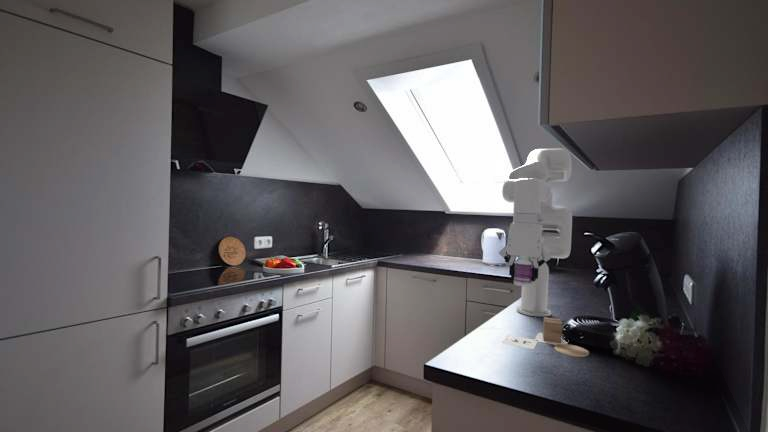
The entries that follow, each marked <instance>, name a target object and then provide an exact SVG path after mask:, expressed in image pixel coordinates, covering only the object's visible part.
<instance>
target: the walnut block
mask: <svg viewBox="0 0 768 432" xmlns="http://www.w3.org/2000/svg"><path fill="white" fill-rule="evenodd" d="M542 328H543V329H542V333H543V340H544V341H549V342H556V343H561V340H562V337H563V336H562V335H563V321H562V319H561V318H553V317H548V316H546V317H543V327H542Z"/></svg>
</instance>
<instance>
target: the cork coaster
mask: <svg viewBox="0 0 768 432" xmlns="http://www.w3.org/2000/svg"><path fill="white" fill-rule="evenodd" d="M553 348H554V350H555V351H556V352H557V353H560V354H562V355H565V356H569V357H575V358H585V357H588V356H590V351H589V350H587V349H586V348H584V347H581V346H578V345H573V344H568V343H567V344H558V345H554V347H553Z"/></svg>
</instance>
